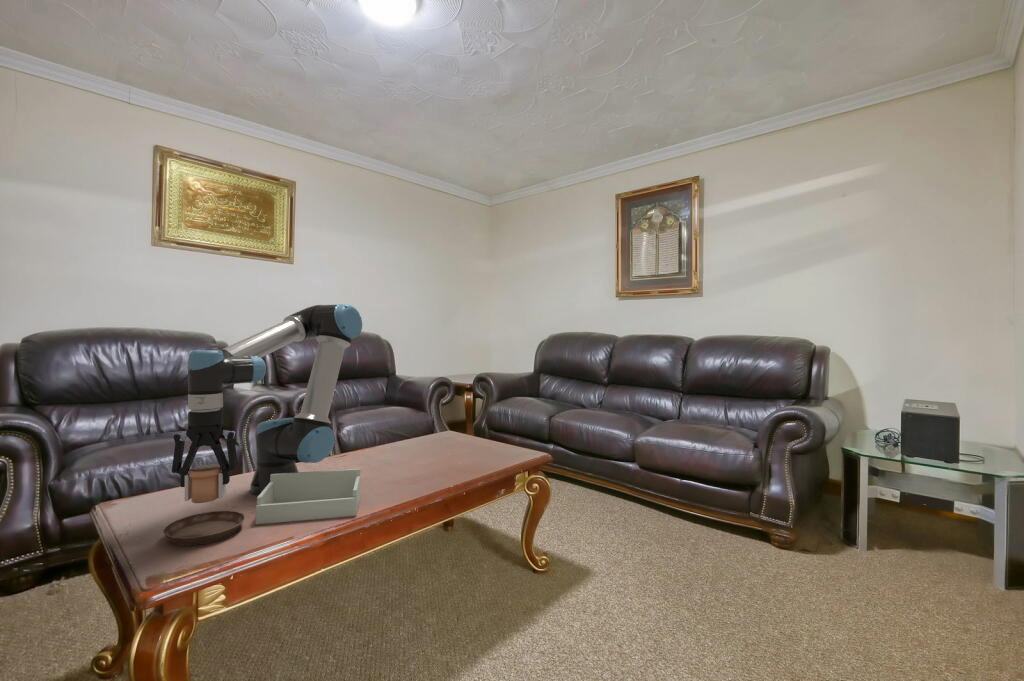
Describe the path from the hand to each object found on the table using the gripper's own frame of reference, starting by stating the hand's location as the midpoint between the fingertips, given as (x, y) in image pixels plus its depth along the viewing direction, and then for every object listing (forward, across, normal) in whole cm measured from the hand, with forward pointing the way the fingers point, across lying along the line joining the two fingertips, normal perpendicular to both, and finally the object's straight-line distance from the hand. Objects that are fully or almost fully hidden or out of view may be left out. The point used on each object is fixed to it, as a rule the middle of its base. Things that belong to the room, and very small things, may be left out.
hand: (205, 497), depth 119 cm
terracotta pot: (0, 0, 0) cm, 0 cm away
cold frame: (+9, +24, +11) cm, 28 cm away
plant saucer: (+10, 0, 0) cm, 10 cm away
